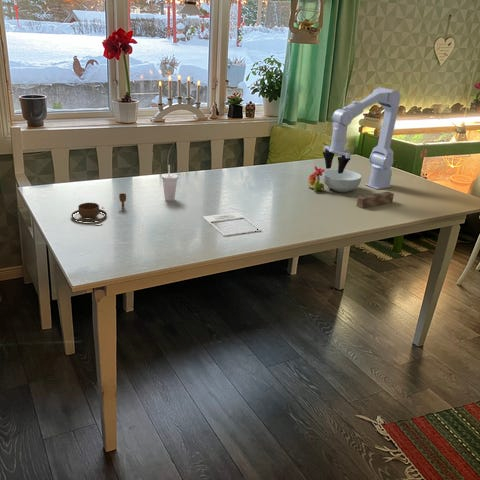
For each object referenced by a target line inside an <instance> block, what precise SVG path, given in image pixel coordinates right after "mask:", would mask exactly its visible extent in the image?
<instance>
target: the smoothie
mask: <svg viewBox="0 0 480 480" xmlns="http://www.w3.org/2000/svg"><path fill="white" fill-rule="evenodd" d="M167 168H168V172H167V173H164V174H162V175H161V180H162V185H163V194H164V200H165V201H167V202H173V201H175V198H176V191H177V186H178V185H177V183H178V180H179V176H178V174H175V173H171V165H170V164H168V167H167Z"/></svg>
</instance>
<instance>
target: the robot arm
mask: <svg viewBox="0 0 480 480" xmlns="http://www.w3.org/2000/svg"><path fill="white" fill-rule="evenodd" d="M401 97H402V95H401V93H400V91H398V90H397V89H391V88H387V87H382V86H379V87H377V88H375V89H373V90H372V93H370V94H369V95H367V96H366V97H364V98H363V99H362V100H360V101H359V100H353V101H351V103H350V104H348V105H347V106H344V107H343V108H341V109H340V108H338V109H336V110H335V111H334V112H333V113H332V115H331V121H332V127H333V128H332V135H331V142H330V145H324V146H323V151H322V155H323V158H324V161H325V163H324V164H325V170H330V169H331V168H332V164H333V160H334V157H335V155H337V156H338V157H337V162H338V168H337V169H338V173H339V174H340V173H343V171H344V170H346V166H347V164H348V163H349V162H350V160H351V158H352V157H351V155H352V153H351V152H349V151H347V150H345V147H346V140H347V135H348V126H349V125H350V124H351V123H352V121H353V120H354V119H355V118H356V117H358V116H360V115H361V114H363V113H364V110H365V109H367V108H370V107H371V106H372V105H374V104H376V103H377V104H379V105H381V107H382V108H383V110H384V113H383V118H382V123H381V127H380V132H379V138H378V140H377V141H378V143H377V145H376V146H375V147H373V148H372V150H371V153H370V156H369V163H370V167H371V170H370V175H369V181H368V182H367V183H364V185H365V186H368V187H371V188H373V189H376V190H380V189H387V188H391V187H392V186H391V180H392V175H393V172H392V171H393V170H392V166H393V164H394V153H395V152H394V151H393V149H392V148H391V144H392V139H393V135H394V132H395V131H394V130H395V127H396V126H395V125H396V120H397V116H398V111H399V107H400V106H399V105H400V101H401Z"/></svg>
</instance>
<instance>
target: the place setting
mask: <svg viewBox="0 0 480 480" xmlns="http://www.w3.org/2000/svg"><path fill="white" fill-rule="evenodd" d="M118 198H119V201H120V202H121V209H122V208H124V209H125V202H126V201H127V195H126V193H124V192H123V193H119V195H118ZM77 207H78V209H77V210H75V211H73V212H72V213H71V219H72V218H73V219H74V220H77V221H82V222H95V221H100V220H103V219H104V220H106V218H107V217H108V216H107V214H108V213H107V211H105V210H104V209H102V208H101V209H100V204H98V203H96V202H95V203H94V202H83V203H80V204H78V206H77ZM77 212H79V214H78V215H79V216H80V217H82V218H83V219H80V218H79V219H78V218H75V217H73V214H75V213H77ZM99 212H102V213H104V214H105V216H104V215H103V217H101V218H97V219H95V218H96V217H97V216H99V214H100V213H99ZM94 217H95V218H94ZM84 218H94V219H84ZM73 219H72V220H73ZM74 220H73V221H74ZM104 220H103V221H104ZM100 222H101V221H100Z"/></svg>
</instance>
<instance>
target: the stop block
mask: <svg viewBox="0 0 480 480" xmlns="http://www.w3.org/2000/svg"><path fill="white" fill-rule="evenodd" d="M394 195H395V193H394V192H392V191H382V192H377V193H371V194H365V195H360V196H357V201H356V207H358V208H360V209H364V208H365V209H366V208H370V207H371V208H372V207H375V206H382V205H386V204H392V203H393V201H394Z"/></svg>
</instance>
